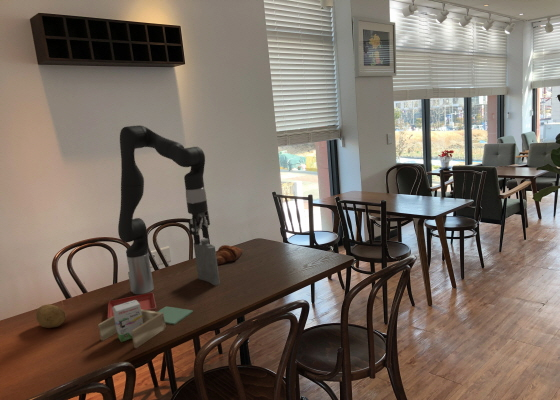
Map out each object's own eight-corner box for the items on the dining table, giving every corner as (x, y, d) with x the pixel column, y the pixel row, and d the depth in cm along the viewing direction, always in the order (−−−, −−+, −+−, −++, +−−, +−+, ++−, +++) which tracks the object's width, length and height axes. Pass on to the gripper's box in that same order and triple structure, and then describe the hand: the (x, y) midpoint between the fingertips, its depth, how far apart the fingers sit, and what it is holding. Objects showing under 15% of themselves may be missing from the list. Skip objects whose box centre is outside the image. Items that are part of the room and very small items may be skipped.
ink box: (121, 342, 149) (115, 311, 147) (117, 337, 153) (112, 306, 151) (145, 333, 154) (140, 303, 152) (141, 329, 158) (136, 299, 156)
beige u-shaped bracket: (101, 340, 152) (98, 324, 151) (131, 321, 165) (128, 307, 164) (136, 348, 144) (133, 331, 143) (165, 328, 157) (163, 312, 155)
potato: (48, 336, 160) (43, 316, 158) (32, 327, 169) (28, 308, 167) (74, 325, 167) (70, 305, 165) (58, 317, 176) (54, 298, 174)
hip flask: (197, 278, 205) (191, 238, 201) (204, 275, 208) (199, 235, 204) (215, 285, 193) (209, 243, 189) (222, 283, 196) (217, 240, 192)
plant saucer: (154, 298, 186) (153, 291, 186) (157, 315, 169) (156, 307, 169) (109, 308, 180) (108, 301, 180) (108, 326, 164) (107, 318, 163)
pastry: (214, 256, 237) (212, 242, 236) (242, 252, 239) (240, 239, 237) (213, 266, 221) (211, 251, 219) (243, 262, 222) (241, 247, 221)
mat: (146, 319, 165) (146, 318, 165) (166, 307, 175) (166, 306, 175) (174, 324, 159) (174, 323, 159) (193, 311, 168) (193, 310, 168)
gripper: (194, 196, 171) (199, 235, 174) (179, 204, 158) (185, 246, 161) (212, 195, 170) (217, 235, 173) (198, 203, 156) (203, 246, 159)
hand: (201, 240), depth 167 cm, fingers open, 8 cm apart
